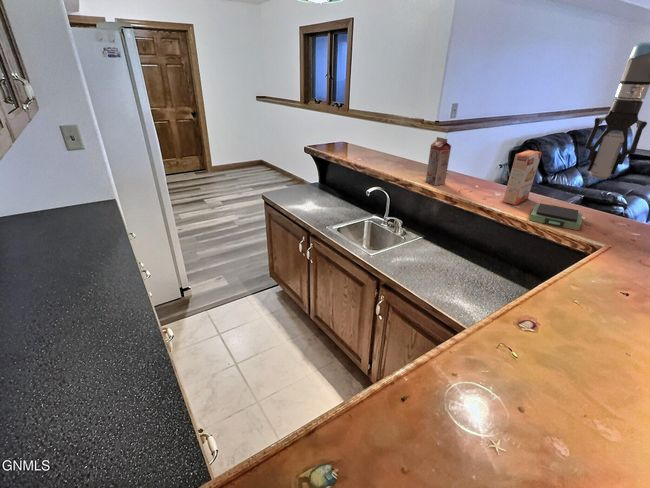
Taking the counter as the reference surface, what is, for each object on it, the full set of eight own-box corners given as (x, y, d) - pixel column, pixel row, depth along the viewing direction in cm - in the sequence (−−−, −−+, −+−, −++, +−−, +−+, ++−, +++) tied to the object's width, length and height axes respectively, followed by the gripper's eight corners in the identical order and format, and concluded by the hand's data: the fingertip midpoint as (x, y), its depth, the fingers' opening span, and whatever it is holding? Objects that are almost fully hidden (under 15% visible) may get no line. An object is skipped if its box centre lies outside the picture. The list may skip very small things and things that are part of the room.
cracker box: (516, 206, 147) (530, 156, 138) (502, 202, 151) (514, 153, 142) (529, 199, 156) (542, 151, 146) (515, 195, 160) (527, 149, 150)
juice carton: (434, 185, 172) (442, 139, 162) (425, 181, 178) (432, 137, 168) (444, 183, 175) (452, 138, 165) (435, 180, 180) (442, 136, 170)
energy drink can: (589, 173, 125) (605, 130, 118) (609, 177, 121) (628, 132, 114) (586, 177, 120) (603, 132, 114) (608, 180, 117) (626, 134, 110)
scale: (580, 218, 135) (582, 212, 134) (578, 231, 124) (581, 225, 123) (533, 209, 144) (535, 204, 142) (528, 221, 132) (530, 215, 131)
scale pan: (577, 212, 134) (578, 210, 134) (576, 221, 125) (577, 219, 125) (539, 204, 141) (540, 203, 140) (536, 213, 132) (536, 211, 132)
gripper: (592, 97, 111) (567, 169, 122) (670, 102, 102) (636, 179, 112) (592, 96, 117) (568, 165, 127) (666, 100, 107) (634, 174, 118)
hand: (600, 171), depth 120 cm, fingers closed on energy drink can, 6 cm apart
